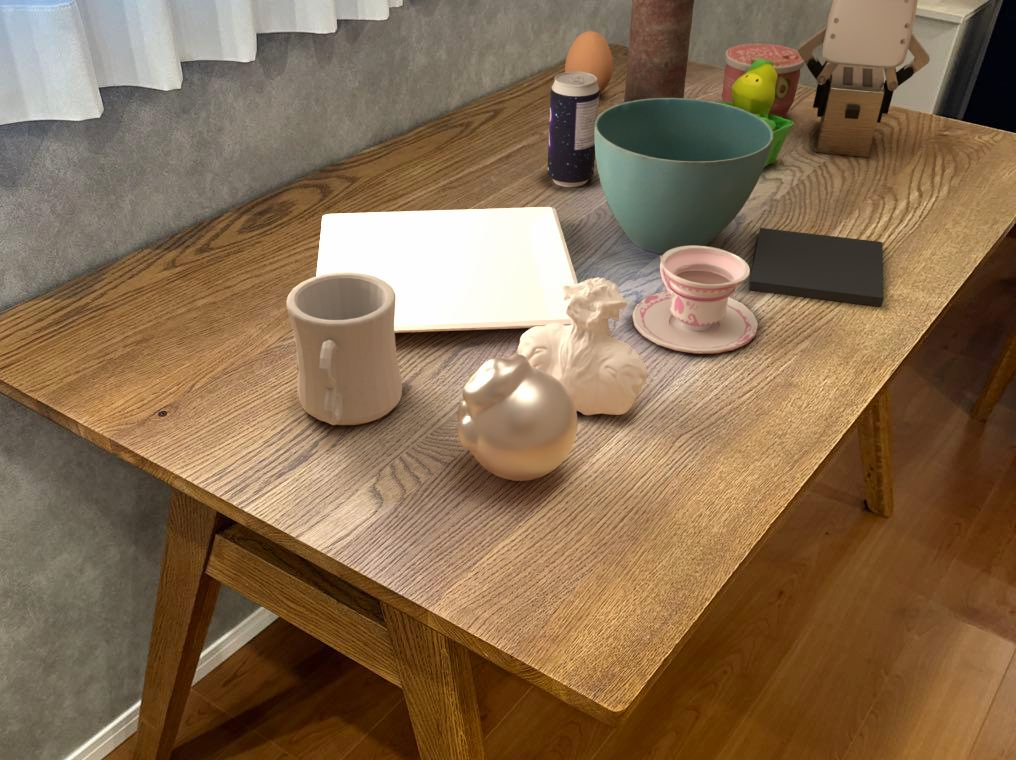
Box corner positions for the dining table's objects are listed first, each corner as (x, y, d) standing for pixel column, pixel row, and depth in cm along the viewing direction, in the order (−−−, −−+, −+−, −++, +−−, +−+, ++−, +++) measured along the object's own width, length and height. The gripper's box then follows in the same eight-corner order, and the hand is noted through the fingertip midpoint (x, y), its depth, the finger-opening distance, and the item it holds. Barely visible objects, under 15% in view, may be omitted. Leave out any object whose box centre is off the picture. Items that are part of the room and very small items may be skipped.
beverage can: (586, 169, 128) (593, 68, 120) (598, 187, 123) (606, 84, 116) (542, 173, 127) (546, 71, 119) (552, 191, 123) (557, 87, 115)
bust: (642, 434, 89) (685, 308, 88) (618, 424, 82) (665, 288, 81) (521, 395, 94) (561, 276, 92) (489, 383, 87) (531, 254, 85)
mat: (880, 250, 111) (882, 241, 110) (880, 306, 101) (883, 297, 101) (758, 236, 113) (760, 227, 113) (748, 289, 104) (750, 280, 103)
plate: (588, 340, 97) (590, 320, 95) (312, 350, 95) (310, 331, 94) (554, 222, 116) (554, 204, 115) (324, 229, 115) (322, 212, 114)
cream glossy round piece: (501, 422, 87) (502, 317, 80) (594, 462, 82) (604, 355, 76) (434, 473, 81) (429, 366, 75) (530, 520, 77) (535, 410, 70)
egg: (609, 90, 150) (615, 25, 144) (610, 106, 145) (615, 39, 139) (563, 89, 150) (567, 23, 144) (562, 105, 145) (566, 38, 139)
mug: (311, 368, 93) (299, 268, 86) (410, 374, 92) (404, 272, 86) (278, 449, 84) (261, 343, 77) (387, 456, 83) (379, 349, 77)
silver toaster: (868, 127, 138) (883, 65, 133) (867, 160, 130) (884, 95, 124) (819, 123, 140) (832, 61, 134) (816, 155, 131) (830, 90, 126)
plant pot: (748, 209, 119) (767, 101, 111) (756, 283, 105) (779, 165, 97) (592, 200, 121) (600, 93, 113) (580, 271, 107) (589, 155, 99)
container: (711, 124, 139) (720, 62, 134) (721, 99, 147) (730, 40, 141) (790, 132, 137) (802, 70, 132) (796, 107, 144) (808, 46, 139)
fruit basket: (679, 153, 132) (691, 61, 124) (721, 136, 136) (736, 46, 128) (752, 179, 125) (769, 83, 118) (794, 161, 130) (813, 67, 122)
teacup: (781, 323, 99) (794, 264, 95) (709, 371, 93) (720, 309, 89) (680, 282, 105) (688, 225, 101) (606, 324, 99) (612, 265, 95)
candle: (636, 172, 127) (654, -5, 114) (607, 152, 132) (621, -20, 119) (688, 162, 129) (712, -12, 116) (657, 142, 134) (677, -27, 121)
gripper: (959, -41, 122) (917, 113, 134) (810, -49, 126) (782, 100, 138) (963, -26, 117) (919, 133, 129) (808, -35, 120) (778, 119, 132)
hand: (848, 115), depth 133 cm, fingers open, 6 cm apart
